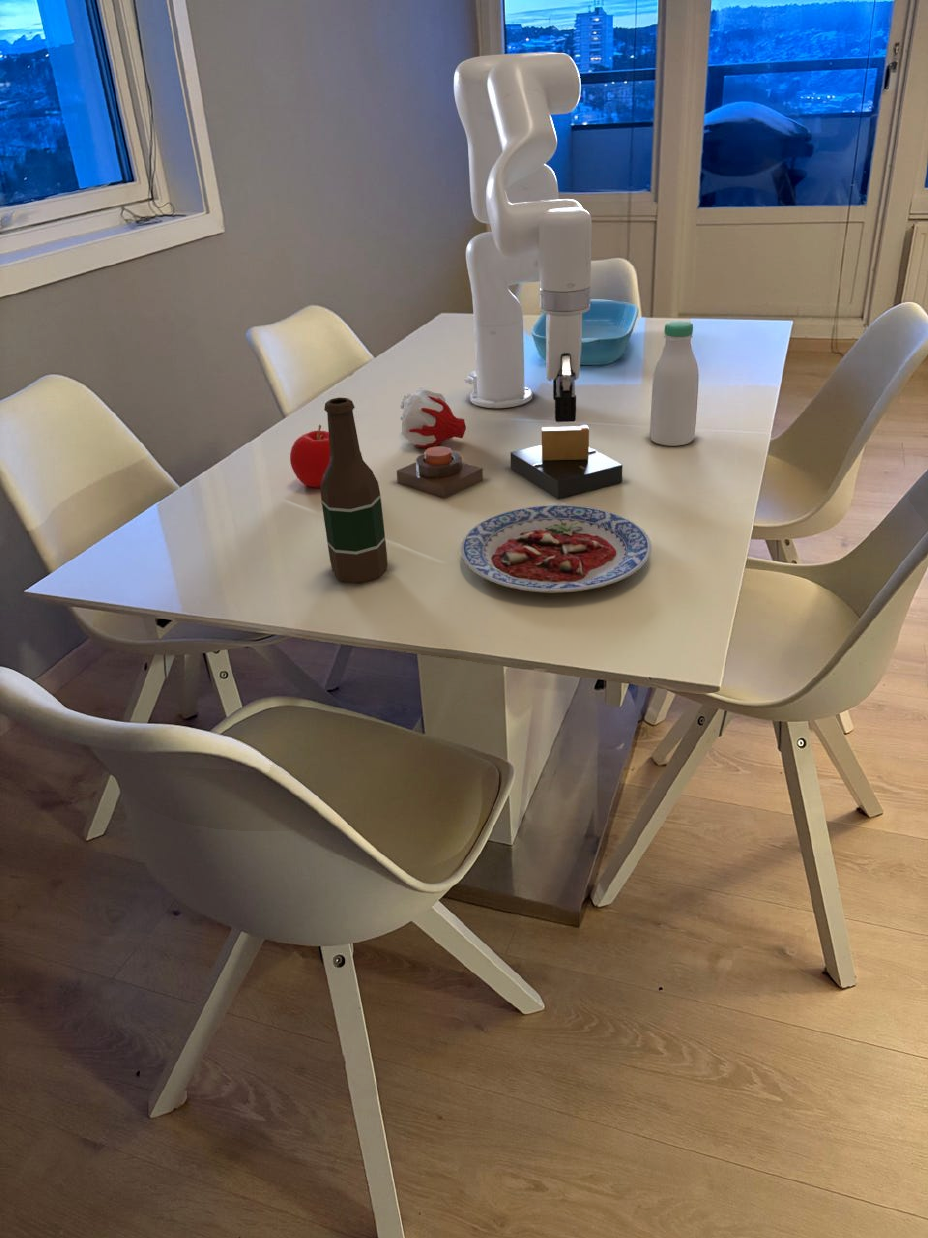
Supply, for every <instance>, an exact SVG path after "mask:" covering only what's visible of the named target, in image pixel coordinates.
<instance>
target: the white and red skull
mask: <svg viewBox="0 0 928 1238" xmlns="http://www.w3.org/2000/svg"><path fill="white" fill-rule="evenodd" d="M446 401H447V400H446V398H445V397H444V395H443V394H442V393H439V392H434V391H431V390H429V389H427V388H424V387H420V388H419V389H418V390H416V391H415V392H414V393H412V394H411V393H408V394H406V395H404V396H403V399H402V401H401V405H400V409H402V410H403V411H402V414H401V416H400V421H401V431H402V435H403V437H404V439H405V440H407V442H409V443H411V444H412V445H414V447H418V448H423V449H428V448H431V447H437V446H438V445H440V443H443V442H444V441H447V440H450V439H453V438H457V439H463V438H464V436H465V433H466V431H467V425H466V421H465V419H464V418H462V417H461V418H459V417H456V416H455V415H454V412H453V411H452V409H451V407H450V406H449V405H448V403H447V402H446Z"/></svg>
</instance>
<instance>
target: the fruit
mask: <svg viewBox="0 0 928 1238" xmlns="http://www.w3.org/2000/svg"><path fill="white" fill-rule="evenodd" d="M321 428H322V425H321V424H319V425H318V430H311V431H309V432H306V433H304V434H302V435H301V436H299V437H298V438H297V439H296V440H295V441H294V442H293V444H292V445H291V448H290V453H289V462H290V466H291V467H290V468H291V469H292V471H293V473H294V474H295V477H296V478H297V479H298V480H299V482H301V483H302V484H303V485H305V486H307V487H310V488H314V489H315V488H316V489H320V486H321V482H322V478H323V474H324V472H325V471H326V469H327V467H328V465H329V461H330V445H329V431H326V430H321Z"/></svg>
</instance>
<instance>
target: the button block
mask: <svg viewBox="0 0 928 1238" xmlns="http://www.w3.org/2000/svg"><path fill="white" fill-rule="evenodd" d="M483 469H484V468H482V467H479V466H477V465H473V464H469V463H466V462H463V457H462V456H461V455H460V454H459V453H458V452H455V451H452V461H451V462H449V463H447V464H442V465H430V464H427V463H425V453H423V454H420V455H418V457H416V459H415V462H413V463H411V464H409V465H406V466H404V467H402V468H399V469H397V470H396V479H397V480H396V481H397V483H398V484H401V485H403V486H406V487H409V488H413V489H416V490H418V491H422V492H424V493H427V494H430V495H433V496H437V497H439V498H442V499H447V498H449V497H451V496H454V495H456V494H458V493H460V492H462V491H464V490H466V489H469V488H470V487H473V486H475V485H477V484H479V483H481V482H483V481H484V471H483Z"/></svg>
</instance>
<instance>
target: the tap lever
mask: <svg viewBox="0 0 928 1238" xmlns="http://www.w3.org/2000/svg"><path fill="white" fill-rule="evenodd" d="M541 445H542V461H544V460H583V459H589V447H590V427H589V425H588V424H581V425H580V426H577V425H576V426H548V427H547V426H546V427H544V426H542V427H541Z"/></svg>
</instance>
